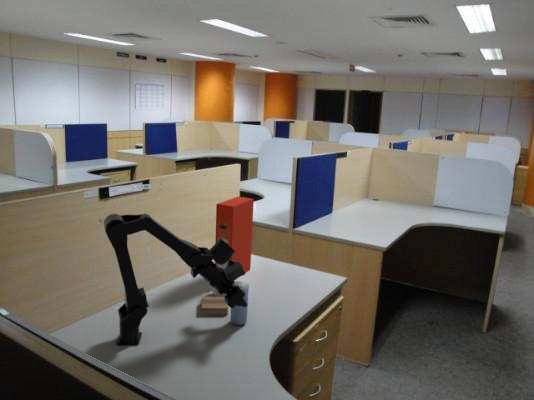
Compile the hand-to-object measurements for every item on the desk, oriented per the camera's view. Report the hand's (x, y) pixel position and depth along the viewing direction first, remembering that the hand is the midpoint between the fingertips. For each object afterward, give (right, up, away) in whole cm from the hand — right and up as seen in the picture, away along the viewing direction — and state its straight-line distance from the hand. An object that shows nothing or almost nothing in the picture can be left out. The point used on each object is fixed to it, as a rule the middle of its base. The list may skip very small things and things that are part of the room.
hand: (243, 302), depth 149 cm
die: (-9, -2, +21) cm, 23 cm away
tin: (-2, -6, +1) cm, 7 cm away
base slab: (-11, -5, +10) cm, 15 cm away
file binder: (-7, +2, +42) cm, 42 cm away
